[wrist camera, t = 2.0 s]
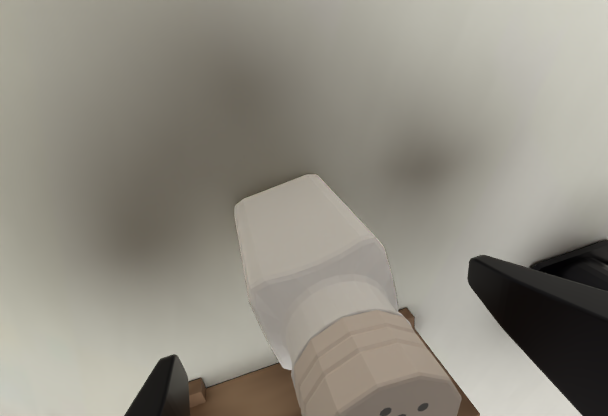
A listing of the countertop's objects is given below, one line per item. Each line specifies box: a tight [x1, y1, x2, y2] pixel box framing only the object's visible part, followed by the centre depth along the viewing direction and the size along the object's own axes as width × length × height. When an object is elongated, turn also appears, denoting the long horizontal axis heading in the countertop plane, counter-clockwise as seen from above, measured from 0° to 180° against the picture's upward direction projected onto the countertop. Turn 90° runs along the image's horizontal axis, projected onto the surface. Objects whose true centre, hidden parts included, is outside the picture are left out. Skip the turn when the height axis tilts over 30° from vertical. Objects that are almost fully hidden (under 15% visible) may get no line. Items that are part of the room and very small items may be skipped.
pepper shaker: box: [234, 174, 462, 416], centre depth 10 cm, size 4×4×10 cm
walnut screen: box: [188, 308, 480, 416], centre depth 16 cm, size 14×3×6 cm, turn 99°
